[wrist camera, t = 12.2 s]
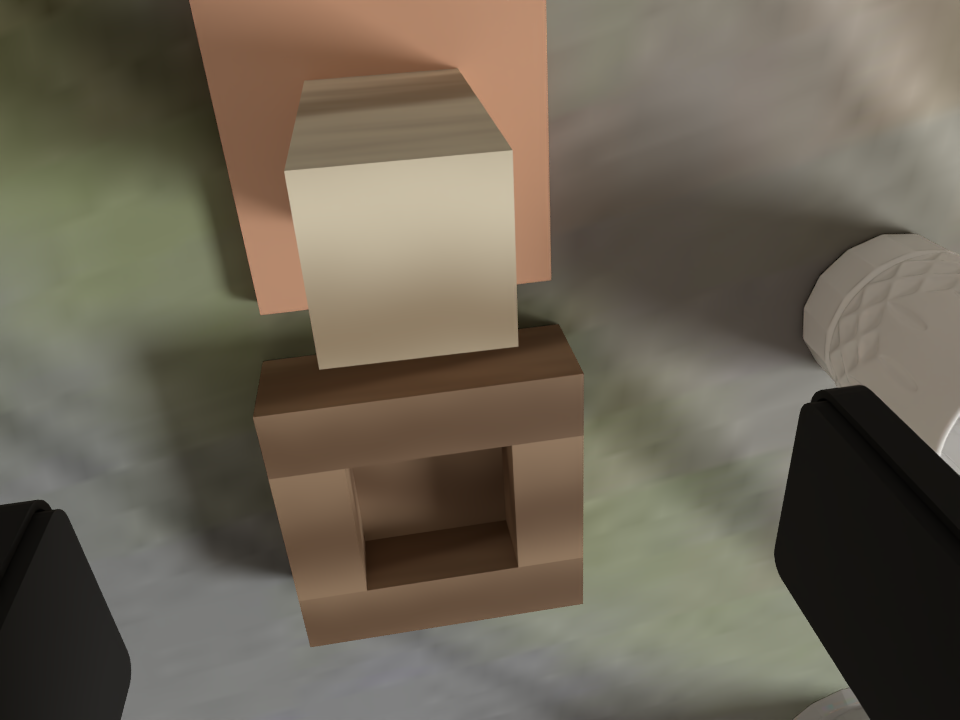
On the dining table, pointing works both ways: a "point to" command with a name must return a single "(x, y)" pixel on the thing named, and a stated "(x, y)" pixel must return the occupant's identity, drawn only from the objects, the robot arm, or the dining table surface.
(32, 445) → the dining table surface
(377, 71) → the terracotta tile
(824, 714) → the french press
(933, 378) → the white cup
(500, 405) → the walnut holder
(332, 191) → the birch peg
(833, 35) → the dining table surface
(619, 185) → the dining table surface
